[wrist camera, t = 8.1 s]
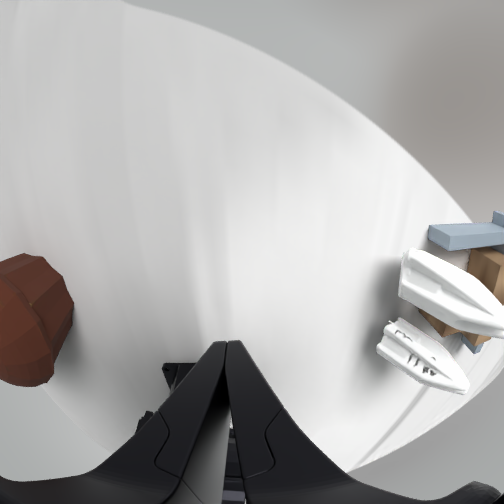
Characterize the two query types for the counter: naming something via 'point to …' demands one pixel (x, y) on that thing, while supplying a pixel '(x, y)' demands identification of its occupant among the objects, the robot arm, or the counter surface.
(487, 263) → the T block
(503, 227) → the corner fence
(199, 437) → the robot arm
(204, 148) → the counter surface
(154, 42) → the counter surface
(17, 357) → the muffin
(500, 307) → the salt and pepper shakers
